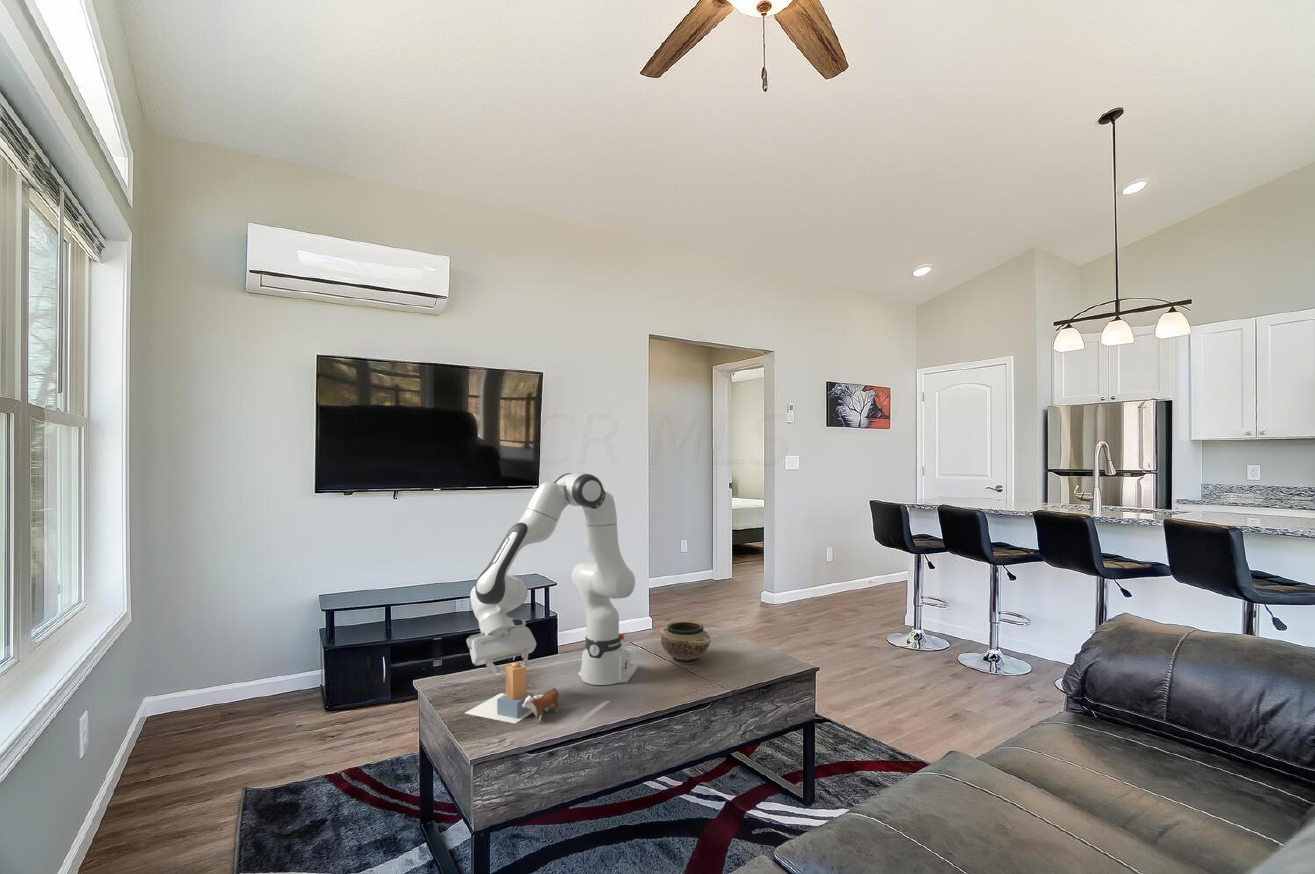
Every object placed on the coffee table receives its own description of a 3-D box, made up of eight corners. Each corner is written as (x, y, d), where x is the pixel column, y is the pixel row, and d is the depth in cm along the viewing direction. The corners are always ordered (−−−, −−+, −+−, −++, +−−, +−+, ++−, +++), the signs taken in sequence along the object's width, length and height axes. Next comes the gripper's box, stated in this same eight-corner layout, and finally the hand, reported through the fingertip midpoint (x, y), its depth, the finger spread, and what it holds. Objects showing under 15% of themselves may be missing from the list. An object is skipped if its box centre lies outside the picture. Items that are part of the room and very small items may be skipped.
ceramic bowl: (652, 662, 243) (644, 625, 242) (688, 642, 253) (680, 607, 251) (691, 681, 223) (683, 641, 221) (729, 659, 233) (721, 620, 231)
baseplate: (500, 696, 202) (500, 693, 202) (548, 705, 195) (548, 701, 195) (464, 716, 187) (464, 713, 187) (515, 727, 179) (515, 723, 179)
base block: (513, 704, 193) (513, 689, 193) (533, 708, 190) (533, 693, 190) (497, 714, 186) (497, 698, 186) (517, 718, 183) (517, 702, 183)
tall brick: (505, 695, 188) (505, 663, 188) (518, 691, 191) (518, 660, 191) (512, 699, 185) (512, 667, 185) (526, 696, 188) (526, 663, 188)
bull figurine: (519, 725, 180) (519, 696, 180) (552, 710, 191) (552, 682, 192) (530, 729, 178) (530, 700, 178) (563, 713, 189) (563, 685, 189)
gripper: (468, 630, 189) (483, 672, 181) (528, 618, 202) (545, 657, 195) (461, 642, 192) (475, 684, 185) (521, 629, 206) (537, 668, 198)
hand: (512, 670), depth 190 cm, fingers open, 8 cm apart
